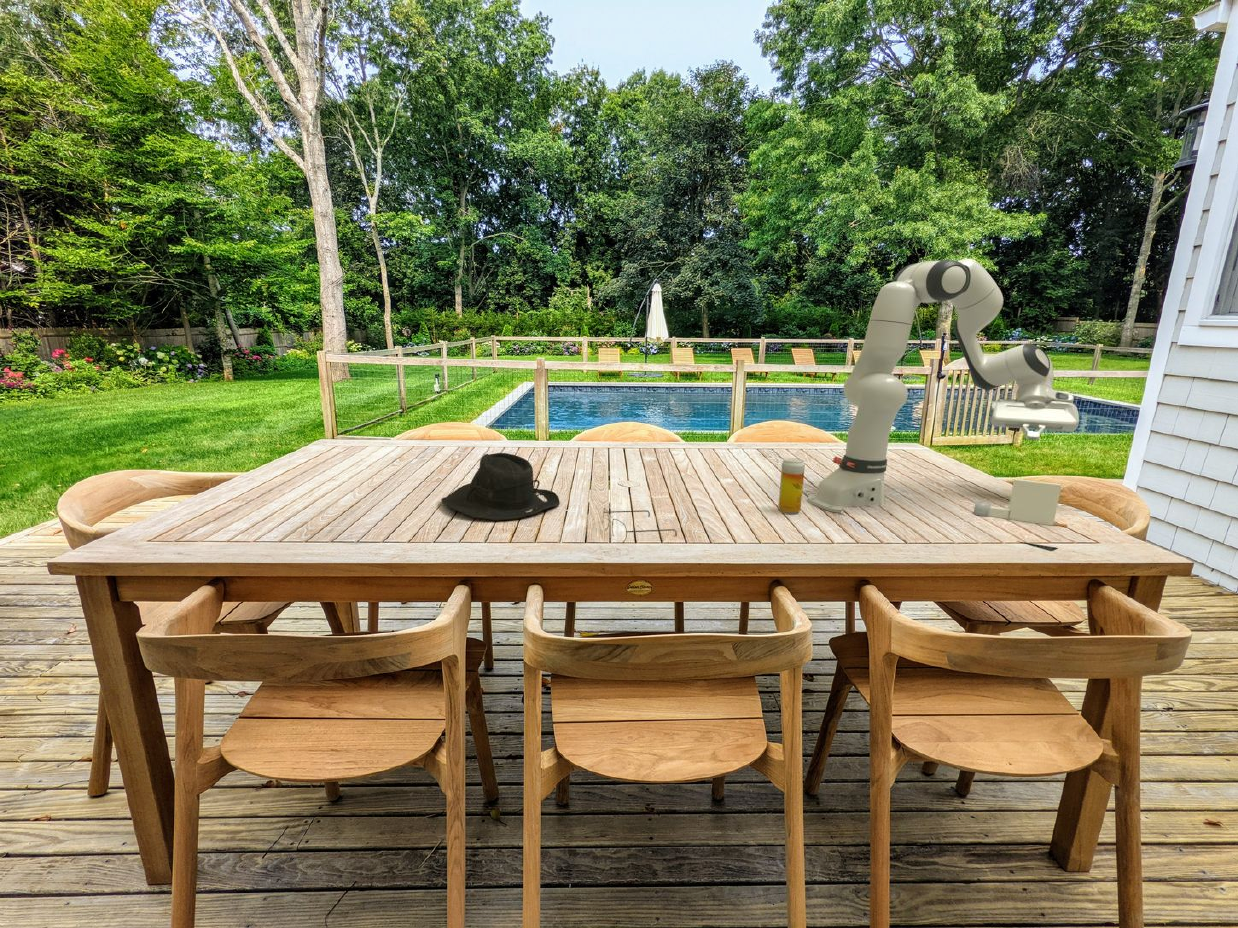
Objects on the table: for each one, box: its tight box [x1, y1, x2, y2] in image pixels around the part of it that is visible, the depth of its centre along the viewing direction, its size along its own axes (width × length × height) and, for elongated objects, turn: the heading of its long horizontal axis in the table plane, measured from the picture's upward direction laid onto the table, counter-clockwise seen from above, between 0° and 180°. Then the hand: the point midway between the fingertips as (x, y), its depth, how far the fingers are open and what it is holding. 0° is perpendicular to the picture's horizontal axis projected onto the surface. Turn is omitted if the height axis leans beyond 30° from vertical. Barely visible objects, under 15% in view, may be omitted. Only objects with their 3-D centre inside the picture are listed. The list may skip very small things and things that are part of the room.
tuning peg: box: [973, 478, 1068, 528], centre depth 149 cm, size 21×4×11 cm, turn 60°
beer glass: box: [777, 457, 806, 515], centre depth 157 cm, size 6×6×15 cm
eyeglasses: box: [602, 507, 678, 543], centre depth 141 cm, size 16×15×5 cm
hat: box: [441, 452, 561, 521], centre depth 160 cm, size 32×35×14 cm
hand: (1032, 438), depth 157 cm, fingers closed
